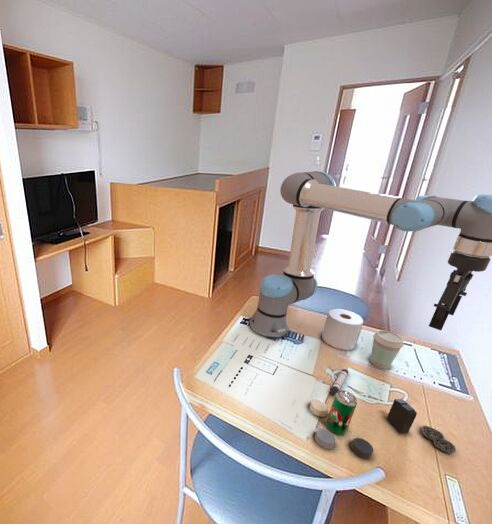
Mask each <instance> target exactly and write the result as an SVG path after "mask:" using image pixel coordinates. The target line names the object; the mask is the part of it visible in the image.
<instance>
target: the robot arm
mask: <svg viewBox="0 0 492 524" xmlns="http://www.w3.org/2000/svg"><path fill="white" fill-rule="evenodd" d="M279 193H280V196H281V198H282V199H283V201H285V202H286V203H288V204H289V205H292V207H293V209H294V210H295V216H294V224H293V230H292V231H293V232H292V238H291V245H290V250H289V258H288V265H287V266H286V267H284V269H283V273H282V274H275V273H274V274H268V275H266V276H265V277H263V279H262V280H261V283H260V285H259V286H260V287H259V294H258V300H257V306H256V310H255V312H254V313H253V314H252V317H250V318H249V317H248V318H247V321H249V327H250V328H251V330H252V331H253V332H255V333H256V334H258V335H260V336H263V337H265V338H269V339H282V338H284V337H286V336H287V335H288V332H289V325H288V319H287V314H288V310H289V306H290V305H292V304H295V303H298V302H301V301H305V300H308V299H309V298H310V297H312V296H314V295H315V293H316V292H317V290H318V280H317V279H316V276H315V271H314V270H313V269H312V264H313V259H314V258H313V257H314V252H315V246H316V240H317V234H318V228H319V222H320V216H321V212H322V211H324V210H329V211H332V212H336V213H341V214H346V215H350V216H354V217H358V218H363V219H367V220H369V221H375V222H378V223H379V222H380V223H384V224H388V225H392V226H394V227H395V229H398V230H399V231H402V232H420V231H422V230H425V229H427V228H431V227H435V226H443V227H448V228H453V229H459V230H460V231H459V234H458V235H457V237H456V240H455V243H454V245H453V247H452V249H453V250H452V251H451V253H450V255H449V257H448V259H447V264H448V265H450V266H451V267H454V268H456V269H453V271H452V272H450V275H449V278H448V281H447V283H446V286H445V288H444V291H443V292H442V295H441V296H440V298H439V300H438V303H433V307H436V308H435V310H434V312H433V315H432V317H431V319H430V321H429V324H428V327H430V328H432V329H435V330H438V331H442V330H443V327H444V325H445V324H446V321H447V319H448V317H449V315H451V316H454V315H455V312H456V310H457V308H458V306H459V304H460V302H461V299H462V297H466V296H467V294H468V292H466V290H467V287H468V285H469V283H470V281H471V280H472V279H473V276H474V274H473V272H474V273H475V272H476V273H477V272H478V273H480V272H484V271H486V270H487V268H488V266H489V264H490V262H491V260H492V259H491V258H490V257H492V194H477V195H475V196H474V198H473V199H472V200H462V199H456V198H455V199H454V198H449V197H441V196H436V195H419V196H417V197H416V198H415V199H411V198H404V197H399V196H393V195H388V194H381V193H376V192H370V191H364V190H359V189H353V188H346V187H341V186H336V182H335V180H334V178H333V177H332V176H331V175H330V174H329V173H328V172H325V171H320V170H319V171H318V170H314V171H304V172H303V171H302V172H295V173H292V174H290V175H288V176H287V177H286V178H284V180H283V181H282V183H281V185H280V189H279Z"/></svg>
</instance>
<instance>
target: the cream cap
mask: <svg viewBox="0 0 492 524" xmlns="http://www.w3.org/2000/svg"><path fill="white" fill-rule="evenodd" d="M328 408H329V407H328V405H327V404H326V403H325V402H324V401H322V400H320V399H312V400H311V401H310V404H309V411H310V412H311V414H313V415H315V416H317V417H321V418H322V417H323V418H324V417H325V416H326V415H327V413H328Z"/></svg>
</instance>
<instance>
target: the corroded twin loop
mask: <svg viewBox="0 0 492 524" xmlns="http://www.w3.org/2000/svg"><path fill="white" fill-rule="evenodd" d="M421 432H422V435H423V436H424V437H425V438H427V439H428V440H430V441H433V444H434V446H435V448H437V449H439V450H440V451H442V452H444V453H447V454H452V453H453V454H455V452H456V446H455V445H454V443H452V442H450V441H449V440H447V439H445V437H444V434H443V433H442V432H440V431H439V430H438V429H435V428H434V427H432V426H428V425H422V427H421Z"/></svg>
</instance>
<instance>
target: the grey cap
mask: <svg viewBox="0 0 492 524" xmlns="http://www.w3.org/2000/svg"><path fill="white" fill-rule="evenodd" d="M314 440H315V443H316V444H317V445H318V446H319V447H321V448H323V449H325V450H332V449H333V448H334V447H335V446H334V445H335V443H336V437H335V435H334V433H333V432H332V431H330V430H329V429H325V428H318V429H317V430H316V431H315V436H314Z"/></svg>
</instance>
